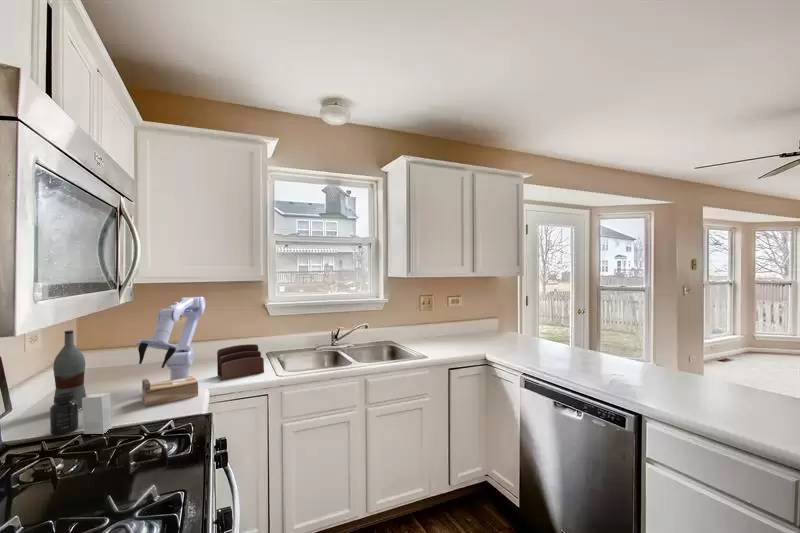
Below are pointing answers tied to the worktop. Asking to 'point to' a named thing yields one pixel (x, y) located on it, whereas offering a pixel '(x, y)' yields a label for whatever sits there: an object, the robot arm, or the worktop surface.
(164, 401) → the box
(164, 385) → the mailer lid
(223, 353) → the letter holder
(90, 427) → the skincare box
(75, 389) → the vodka
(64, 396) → the supplement bottle
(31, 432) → the worktop surface
